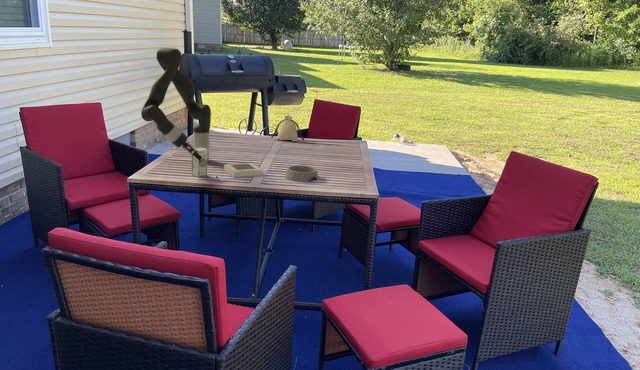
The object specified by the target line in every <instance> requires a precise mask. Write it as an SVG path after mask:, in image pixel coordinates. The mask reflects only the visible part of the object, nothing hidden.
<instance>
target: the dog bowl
mask: <svg viewBox="0 0 640 370" xmlns="http://www.w3.org/2000/svg"><path fill="white" fill-rule="evenodd" d="M318 174H319V173H318V169H317V168H316V167H313V166H309V165H304V164H303V165H302V164H300V165H299V164H298V165H295V164H294V165H290V166H288V167H287V169H286V173H285V175H284V177H285V178H284V179H286V180H288V181H291V182H296V183H297V182H298V183H309V182H310V180H313V179H314V178H316V181H318V180H319V175H318Z"/></svg>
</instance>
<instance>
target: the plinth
mask: <svg viewBox="0 0 640 370" xmlns="http://www.w3.org/2000/svg"><path fill="white" fill-rule="evenodd" d="M223 167H224V168H223V170H224V171H225V172H226V173H228V174H229V175H230V176H232V177H233V178H237V177H239V178H240V177H251V176H252V177H253V176H254V177H255V176H262V175H263V169H262V168H260V167H259V166H257V165H256V164H254V163H252V162H246V163H228V164H223Z"/></svg>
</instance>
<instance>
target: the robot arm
mask: <svg viewBox="0 0 640 370" xmlns="http://www.w3.org/2000/svg"><path fill="white" fill-rule="evenodd" d="M182 58H183V54H182V52H181V51H180V49H178V48H173V47H172V48H170V47H169V48H168V47H161V48H158V50H157V51H156V60H157V62H158V64H159V66H160V67H161V69H162V70H163V71H164V72H163V73H162V75H160V77H158V78H157V79H156V80H155V81H154V83H153V84H152V86H151V90H150V93H149V95H148V98H147V100H146V101H145V103H144V104H143V106H142V109H141V112H140V113H141V114H140V115H141V116H140V117H141V119H143V121H145V122H154V123H155V124H156V129H157V130H158V131H159V132H160V133H161V134H162V135H164V136H165V138H166V139H167V140H168V141H169V142H170V143H172V145H174V146H175V147H176V148H182V149H183V150H184V151H186V152H187V153H189V154H191V156H192V155H193V156H195V157H196V158H197V159H198V160H201V159H202V157H201V156H200V155H199V154H198V153H197V151H195V149H194V148H200V147H201V148H205V149H207V163H208V162H210V128H211V118H212V111H211V106H210V105H209V104H203V103H202V104H201V103H197V102H196V101H195V98H194V97H195V95H196V94H195V93H196V86H195V85H194V82H193V81H192V80H191V78H190V77H189V76H188V75H187V74H186V73H185V72H183V71H182V70H180V69H179V68H180V66H181V65H182V60H183V59H182ZM171 83H172V84H173V86H174V87H175V89H176V91H177V93H178V95H179V96H180V97H181V99H182V101H183V103H184V104H185V107H186V109H187V111H188V114H189V115H190V117H191V118H192V119H193V120H196V121H200V124H198V125H195V126H193V128H192V130H193V132H192V133H193V134H192V135H193V136H192V137H193V139H192V140H193V141H192V144H193V145H192V144H190V142H189V141H188V136H187V135H186V134H185V133H184V132H183V131H182V130H181V129H180V128H178V127H177V126H176V125H174V124H173V122H171V121H170V120H169V118H167V115H166V114H165V113H164V111H163V110H162V109H161V108H160V105H162V104H163V102H164V100H165V96H166V94H167V92H168V89H169V87H170V84H171ZM193 151H195V152H194V153H192V152H193Z"/></svg>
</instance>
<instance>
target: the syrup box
mask: <svg viewBox="0 0 640 370" xmlns="http://www.w3.org/2000/svg"><path fill="white" fill-rule="evenodd" d="M194 149H195V151H197V153H198V154H199V155H200V156H201V157H202V159H201V160H198V159H197V158H196V157H195V156H193V155H192V154H191V175H192V176H194V177H197V178H201V177H206V176H207V175H208V162H207V149H205V148H201V147H200V148H194ZM195 151H193V152H192V153H194V152H195Z"/></svg>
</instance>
